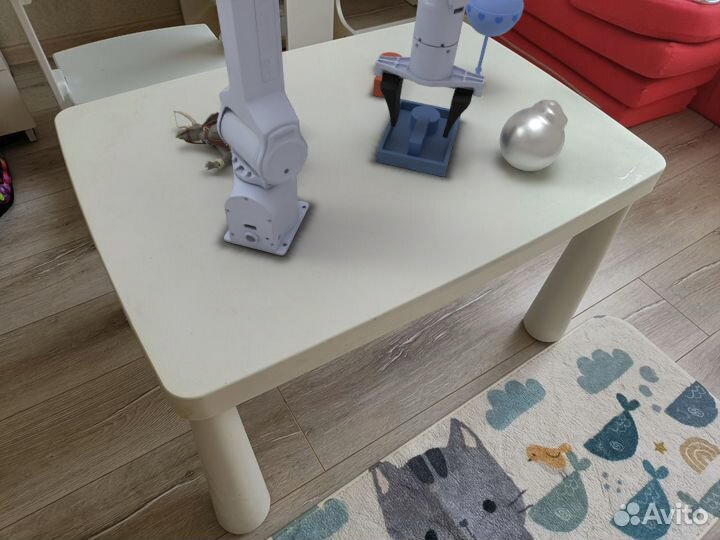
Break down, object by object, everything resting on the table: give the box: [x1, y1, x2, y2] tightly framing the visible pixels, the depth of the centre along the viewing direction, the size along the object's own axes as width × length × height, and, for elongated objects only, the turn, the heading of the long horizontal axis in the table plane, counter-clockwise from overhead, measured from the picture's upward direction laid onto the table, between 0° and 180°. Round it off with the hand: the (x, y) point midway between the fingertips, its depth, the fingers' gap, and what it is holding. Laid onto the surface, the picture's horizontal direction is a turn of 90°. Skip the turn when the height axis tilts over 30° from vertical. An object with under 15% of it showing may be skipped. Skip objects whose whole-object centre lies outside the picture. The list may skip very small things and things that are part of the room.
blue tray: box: [375, 98, 462, 178], centre depth 78 cm, size 14×10×2 cm
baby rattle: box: [465, 0, 525, 75], centre depth 83 cm, size 9×9×18 cm
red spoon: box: [372, 51, 403, 98], centre depth 88 cm, size 11×4×3 cm, turn 164°
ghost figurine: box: [499, 99, 569, 172], centre depth 73 cm, size 9×10×10 cm
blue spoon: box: [407, 106, 440, 158], centre depth 78 cm, size 11×4×3 cm, turn 164°
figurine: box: [172, 110, 232, 171], centre depth 75 cm, size 20×6×17 cm
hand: (420, 128), depth 75 cm, fingers open, 7 cm apart
